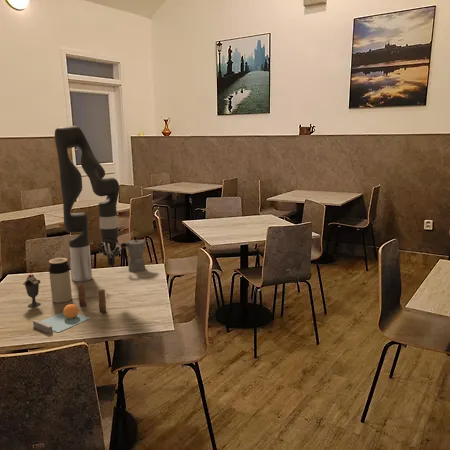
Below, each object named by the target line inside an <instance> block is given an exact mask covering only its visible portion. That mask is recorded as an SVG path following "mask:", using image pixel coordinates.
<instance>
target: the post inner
mask: <svg viewBox="0 0 450 450" xmlns="http://www.w3.org/2000/svg"><path fill="white" fill-rule="evenodd" d="M77 291H78V300H79V301H78V303H79V304H78V305H79V307H85V306H87V299H86V289H85V284H84V283H80V284H78V285H77Z"/></svg>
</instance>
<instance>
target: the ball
mask: <svg viewBox="0 0 450 450" xmlns="http://www.w3.org/2000/svg"><path fill="white" fill-rule="evenodd" d="M62 312H63V314H64V316H65V317H66V318H69V319H72V318H75V317H76V316H77V315H78V314H79V312H80V311H79V308H78V306H77V305H76V304H73V303H70V304H67V305H66V306H65V307H64V308H63V311H62Z"/></svg>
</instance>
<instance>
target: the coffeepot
mask: <svg viewBox="0 0 450 450" xmlns="http://www.w3.org/2000/svg"><path fill="white" fill-rule="evenodd" d="M146 242H148V241H147V240H145V239H137V236H133V239H132V240H128V241H126V242H123V243H121V244H120V246H122V247H123V248H122V250H121V252H120V253H121V255H122V257H123V259H128V258H129V259H128V271H129V272H131V273H139V272H144V271H146V265H145V264H146V263H145V260H144V257H143V255H144V251H145V250H144V249H145V245H146ZM124 247H127V251H128V255H129V256H127V255H126V252H125V249H124Z"/></svg>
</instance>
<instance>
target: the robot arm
mask: <svg viewBox="0 0 450 450" xmlns="http://www.w3.org/2000/svg"><path fill="white" fill-rule="evenodd" d="M54 141H55V142H54V143H55V148H56V153H57V159H58V164H59V165H58V166H59V178H60V188H61V195H62V196H61V197H62V203H63V205H62V207H63V227H64V230H65V232H66V233H69V234H70V233H71V234H72V233H80V234H78V235H77V236H76V237H73V238H71V239H69V243H68V245H69V255H70V260H69V268H70V279H72V281H73V282H77V283H80V282H81V283H83V282H87V281H90V280H92V279H93V273H92V259H91V248H90V239H89V238H90V237H89V219H88V214H87V213H86V212H72V209H73V206H74V204H75V202H76V201H77V200H78V198H79V197H80V194H81V193H82V191H83V179H82V173H81V172H80V170H79V169H78V167H77V166H76V165H75V164H74V163H73V162H72V160H71V158H70V156H69V153H68V152H69V151H68V149H72V148H73V149H74V148H79V149H80V151H81V156H80V165H81V168H82V169H83V170H82V171H83V172H84V173H85V174H86V176H87V177H88V179H89V181H90V185H91V188H92V189H91V190H92V192H93V193H94V194H95V195H96V196H98V197H106V199H104V200H103V201H101V202H99V203H98V214H99V223H98V224H99V236H100V238H101V242H99V243H98V246H99V248H100V250H101V252H102V254H103V256H106V258H107V264H108V267H114V266H115V265H116V257H119V255H120V253H122V252H121V250H122V248H123V249H124V247H122V246H121V244H119V239H118V237H119V236H120V233H119V222H118V221H119V219H118V213H117V212H118V211H117V204H118V203H117V202H118V200H119V199H118V198H119V193H120V183H119V181H118V180H117V179H116V178H115V177H106V178H104V177H105V176H106V171H105V169H104V168H103V166H102V165H101V163H100V162H99V161H98V159H97V158H96V156H95V154H94V153H93V151H92V149H91V146H90V144H89V142H88V140H87V137H86V135H85V134H84V132H83V130H82V129H81V128H80V127H79V126H78V125H68V126H61V127H57V128H55V131H54Z"/></svg>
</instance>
